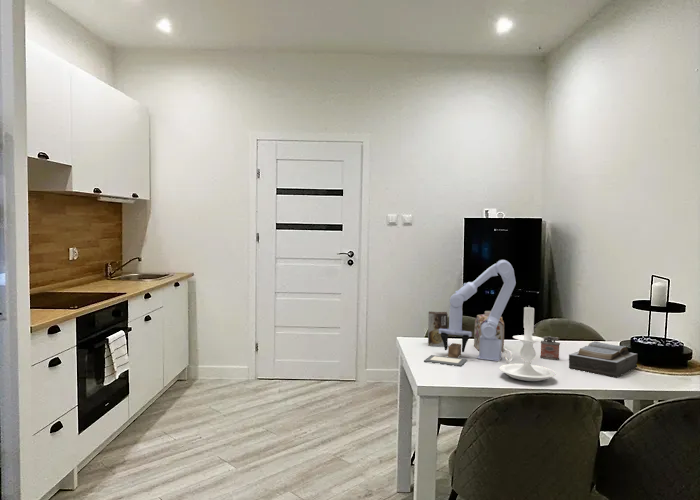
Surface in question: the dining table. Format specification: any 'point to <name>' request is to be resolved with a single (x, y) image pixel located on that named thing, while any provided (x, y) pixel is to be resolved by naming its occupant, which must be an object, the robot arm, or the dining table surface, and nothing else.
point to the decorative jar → (477, 333)
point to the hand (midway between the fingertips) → (454, 350)
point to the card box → (454, 350)
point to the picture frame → (446, 360)
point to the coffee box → (436, 327)
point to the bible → (603, 359)
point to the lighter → (550, 348)
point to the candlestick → (527, 354)
